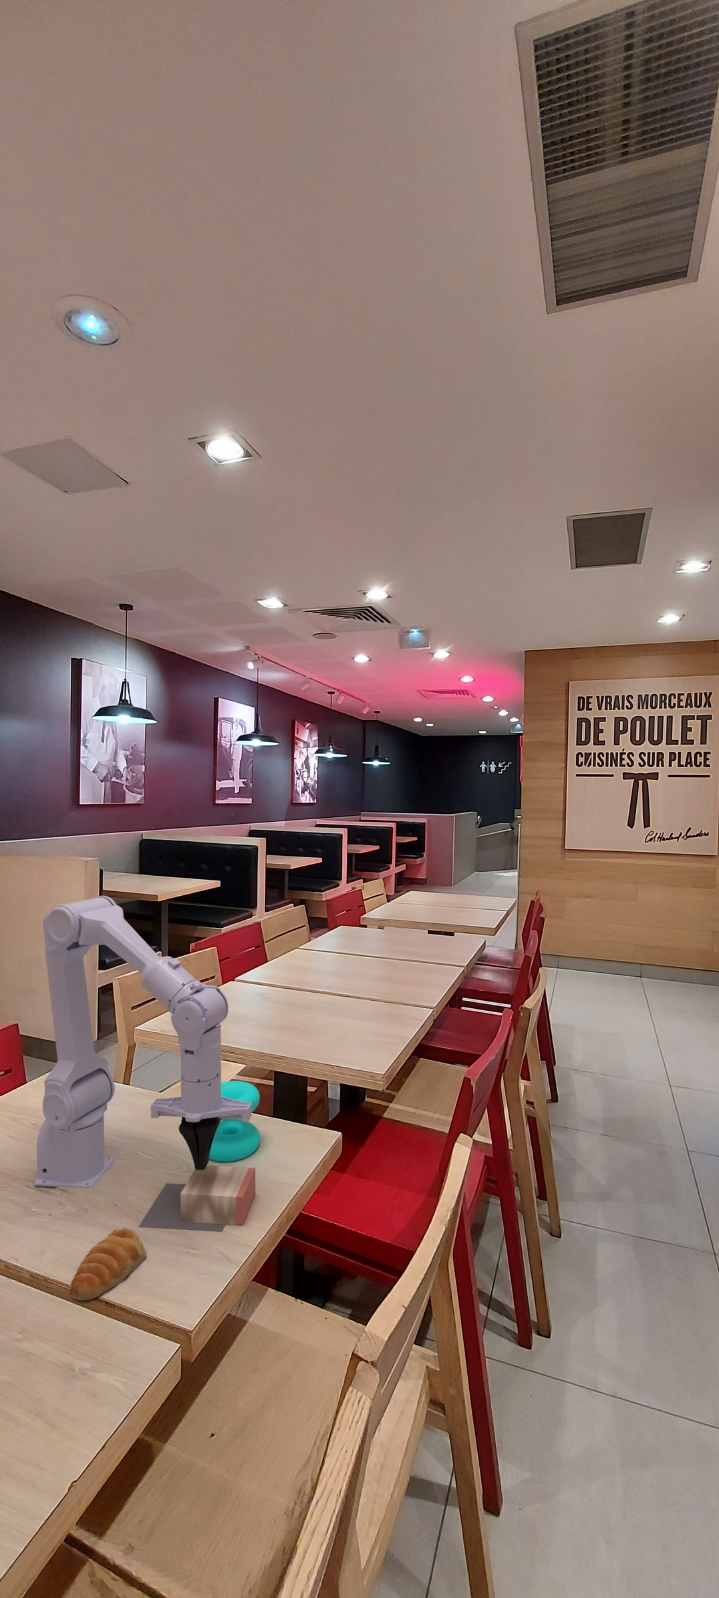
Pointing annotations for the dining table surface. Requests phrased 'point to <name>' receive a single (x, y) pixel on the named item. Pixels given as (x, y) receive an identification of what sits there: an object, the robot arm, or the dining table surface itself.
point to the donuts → (236, 1126)
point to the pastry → (107, 1264)
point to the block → (218, 1195)
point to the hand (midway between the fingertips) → (201, 1166)
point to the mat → (173, 1212)
